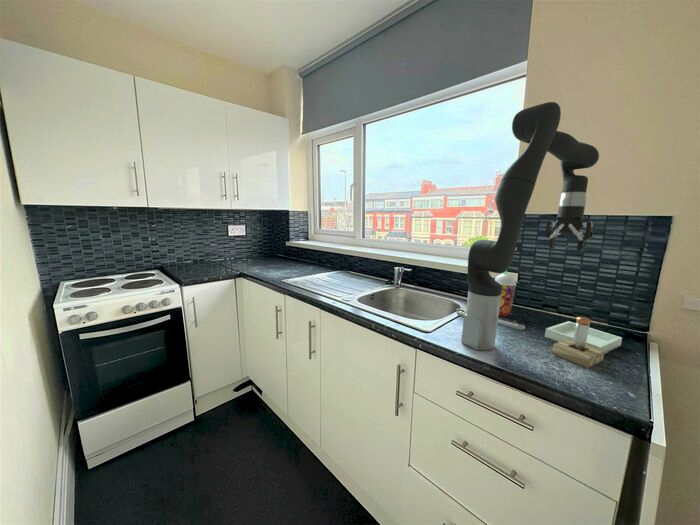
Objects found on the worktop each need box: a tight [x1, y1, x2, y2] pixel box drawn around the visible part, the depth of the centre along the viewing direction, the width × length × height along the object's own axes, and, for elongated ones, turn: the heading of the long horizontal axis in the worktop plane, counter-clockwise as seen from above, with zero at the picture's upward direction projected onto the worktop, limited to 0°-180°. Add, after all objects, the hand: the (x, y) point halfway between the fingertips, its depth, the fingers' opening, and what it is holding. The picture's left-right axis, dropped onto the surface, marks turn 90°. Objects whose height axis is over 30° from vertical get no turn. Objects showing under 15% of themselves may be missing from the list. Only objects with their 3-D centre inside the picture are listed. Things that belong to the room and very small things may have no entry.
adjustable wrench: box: [455, 308, 526, 331], centre depth 109 cm, size 25×6×2 cm, turn 45°
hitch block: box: [551, 338, 605, 369], centre depth 83 cm, size 9×9×3 cm
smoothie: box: [494, 269, 517, 317], centre depth 115 cm, size 8×8×20 cm
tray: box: [544, 320, 623, 355], centre depth 93 cm, size 15×15×3 cm
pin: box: [572, 316, 591, 352], centre depth 82 cm, size 3×3×12 cm
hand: (565, 249), depth 105 cm, fingers open, 8 cm apart
